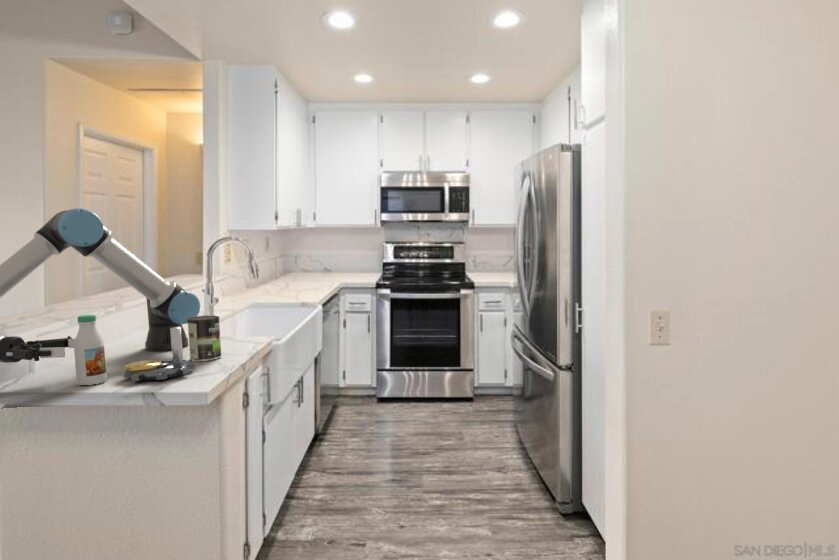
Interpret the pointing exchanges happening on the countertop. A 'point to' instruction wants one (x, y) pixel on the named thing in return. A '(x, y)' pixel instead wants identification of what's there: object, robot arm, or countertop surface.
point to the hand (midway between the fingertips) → (78, 347)
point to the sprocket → (161, 363)
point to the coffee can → (204, 338)
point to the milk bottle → (89, 353)
